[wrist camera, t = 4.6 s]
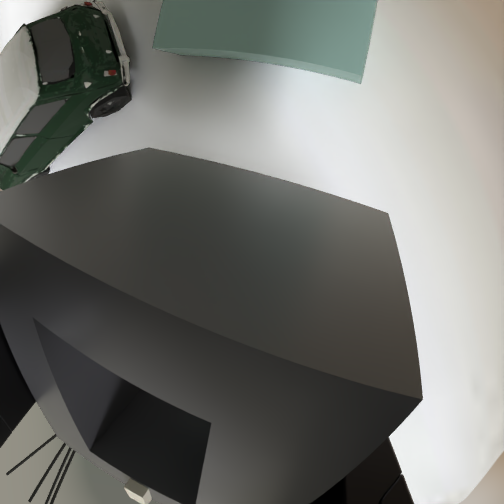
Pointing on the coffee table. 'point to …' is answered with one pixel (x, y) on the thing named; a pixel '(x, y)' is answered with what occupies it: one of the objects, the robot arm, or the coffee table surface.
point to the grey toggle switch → (207, 326)
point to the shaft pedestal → (272, 32)
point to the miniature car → (57, 87)
